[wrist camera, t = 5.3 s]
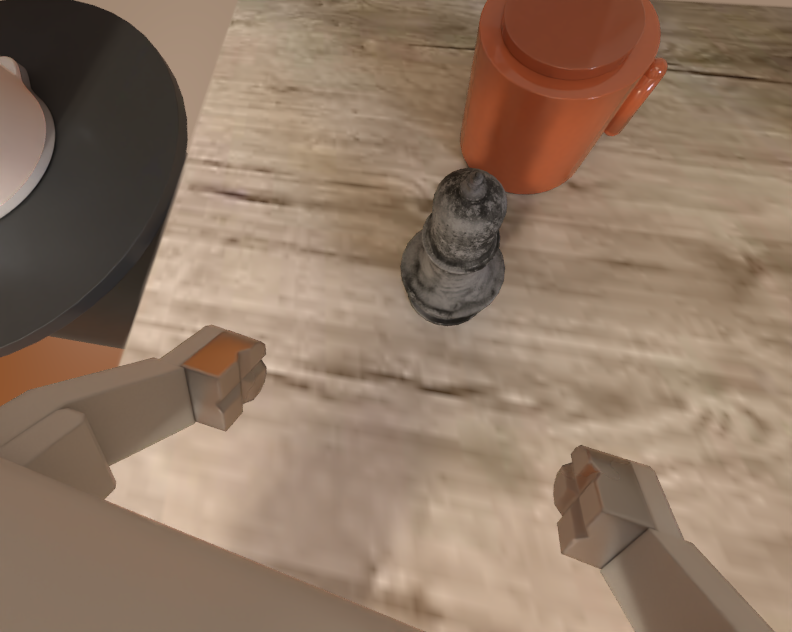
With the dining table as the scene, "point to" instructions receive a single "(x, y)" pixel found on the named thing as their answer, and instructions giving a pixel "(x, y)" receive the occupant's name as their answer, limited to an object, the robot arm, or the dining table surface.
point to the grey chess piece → (457, 250)
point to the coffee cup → (555, 85)
